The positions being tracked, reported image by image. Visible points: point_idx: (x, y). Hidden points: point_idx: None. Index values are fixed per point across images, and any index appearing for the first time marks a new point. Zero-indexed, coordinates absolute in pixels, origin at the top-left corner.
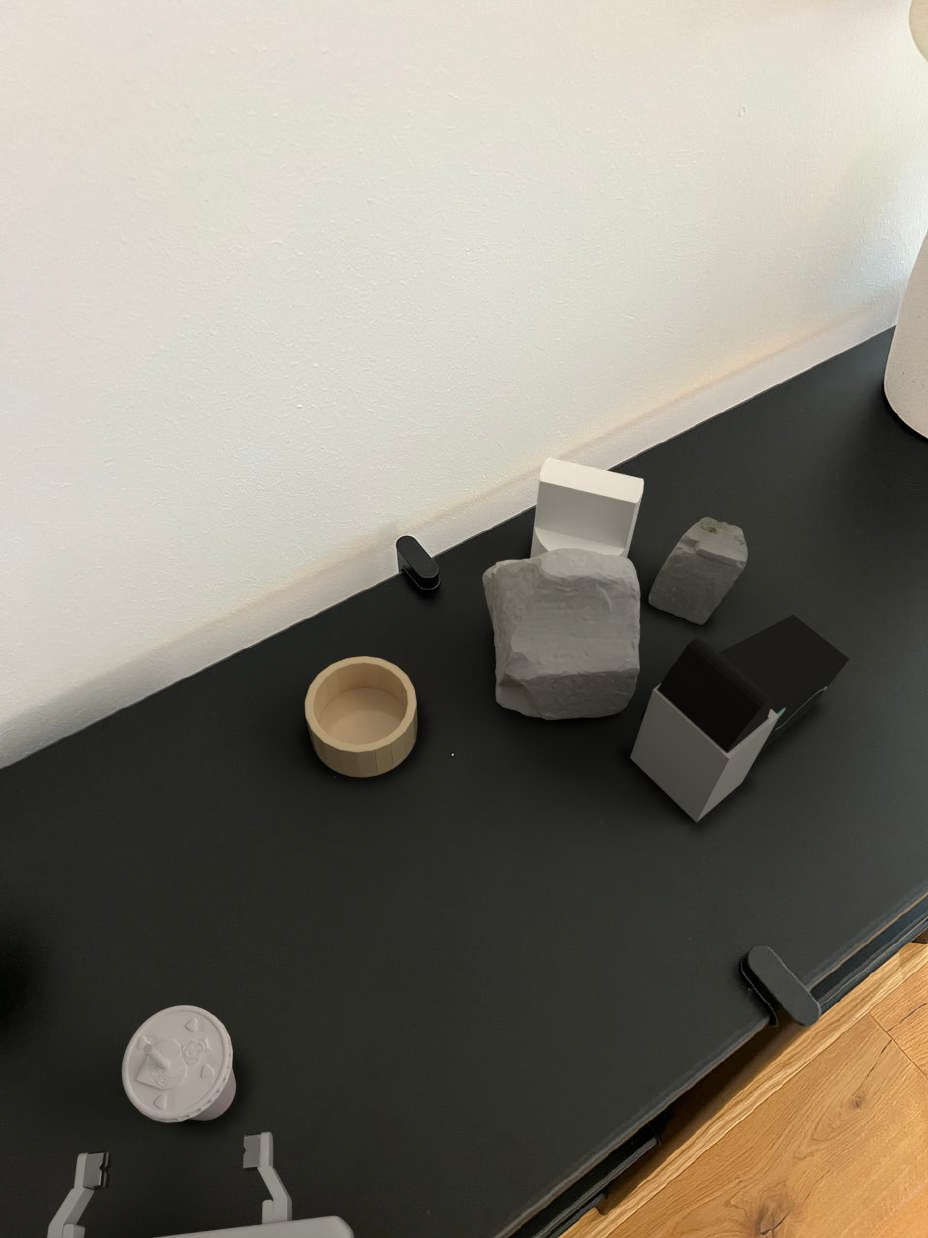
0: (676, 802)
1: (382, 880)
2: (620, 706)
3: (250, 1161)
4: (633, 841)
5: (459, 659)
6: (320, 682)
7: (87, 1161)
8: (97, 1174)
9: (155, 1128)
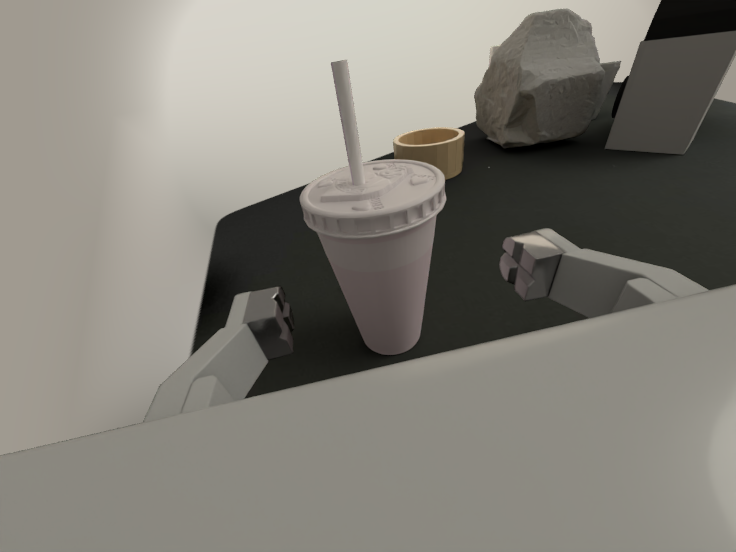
0: (658, 152)
1: (479, 208)
2: (587, 121)
3: (543, 249)
4: (648, 166)
5: (468, 148)
6: (399, 137)
7: (252, 295)
8: (269, 305)
9: (342, 369)
